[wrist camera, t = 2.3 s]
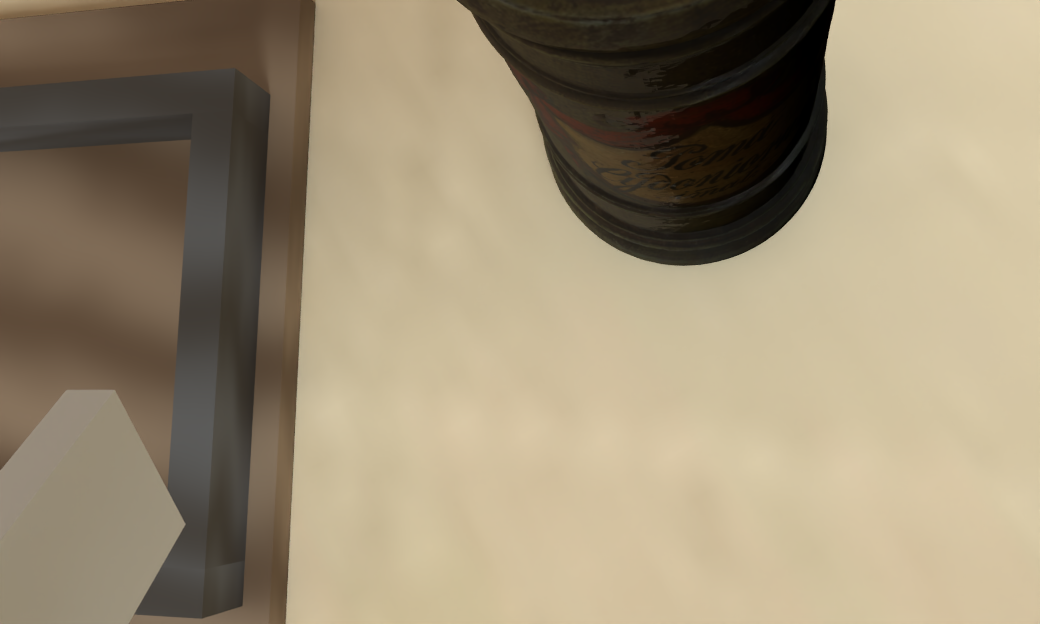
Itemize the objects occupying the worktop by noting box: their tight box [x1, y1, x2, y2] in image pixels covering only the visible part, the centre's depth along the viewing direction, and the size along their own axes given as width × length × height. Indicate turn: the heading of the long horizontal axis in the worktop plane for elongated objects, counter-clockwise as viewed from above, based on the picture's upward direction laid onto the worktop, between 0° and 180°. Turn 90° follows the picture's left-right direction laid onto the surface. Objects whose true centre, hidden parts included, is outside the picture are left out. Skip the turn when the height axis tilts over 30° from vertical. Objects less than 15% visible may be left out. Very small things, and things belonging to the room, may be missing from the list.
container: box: [457, 0, 836, 266], centre depth 23 cm, size 9×9×18 cm
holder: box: [0, 0, 315, 624], centre depth 35 cm, size 26×20×4 cm
